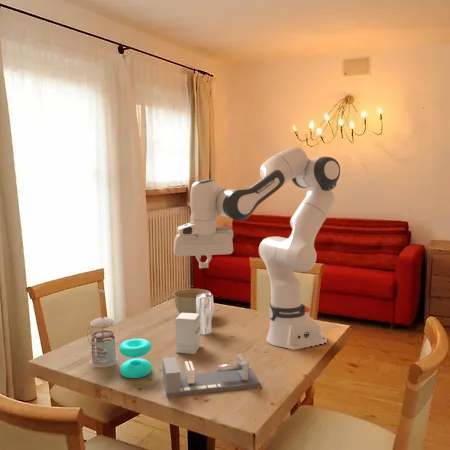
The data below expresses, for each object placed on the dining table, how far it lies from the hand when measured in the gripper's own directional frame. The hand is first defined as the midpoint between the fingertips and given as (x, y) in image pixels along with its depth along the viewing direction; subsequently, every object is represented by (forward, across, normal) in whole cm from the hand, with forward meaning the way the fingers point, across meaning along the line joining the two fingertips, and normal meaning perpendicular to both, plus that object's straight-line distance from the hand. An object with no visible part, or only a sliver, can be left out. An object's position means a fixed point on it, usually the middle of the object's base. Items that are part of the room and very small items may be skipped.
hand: (203, 267), depth 161 cm
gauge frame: (+31, +2, +22) cm, 38 cm away
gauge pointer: (+29, +9, +22) cm, 37 cm away
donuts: (+31, +24, +9) cm, 41 cm away
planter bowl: (+31, -2, -41) cm, 52 cm away
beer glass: (+31, -4, -22) cm, 39 cm away
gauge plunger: (+29, -5, +22) cm, 37 cm away
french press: (+31, +35, -3) cm, 47 cm away
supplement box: (+31, +5, -6) cm, 32 cm away
